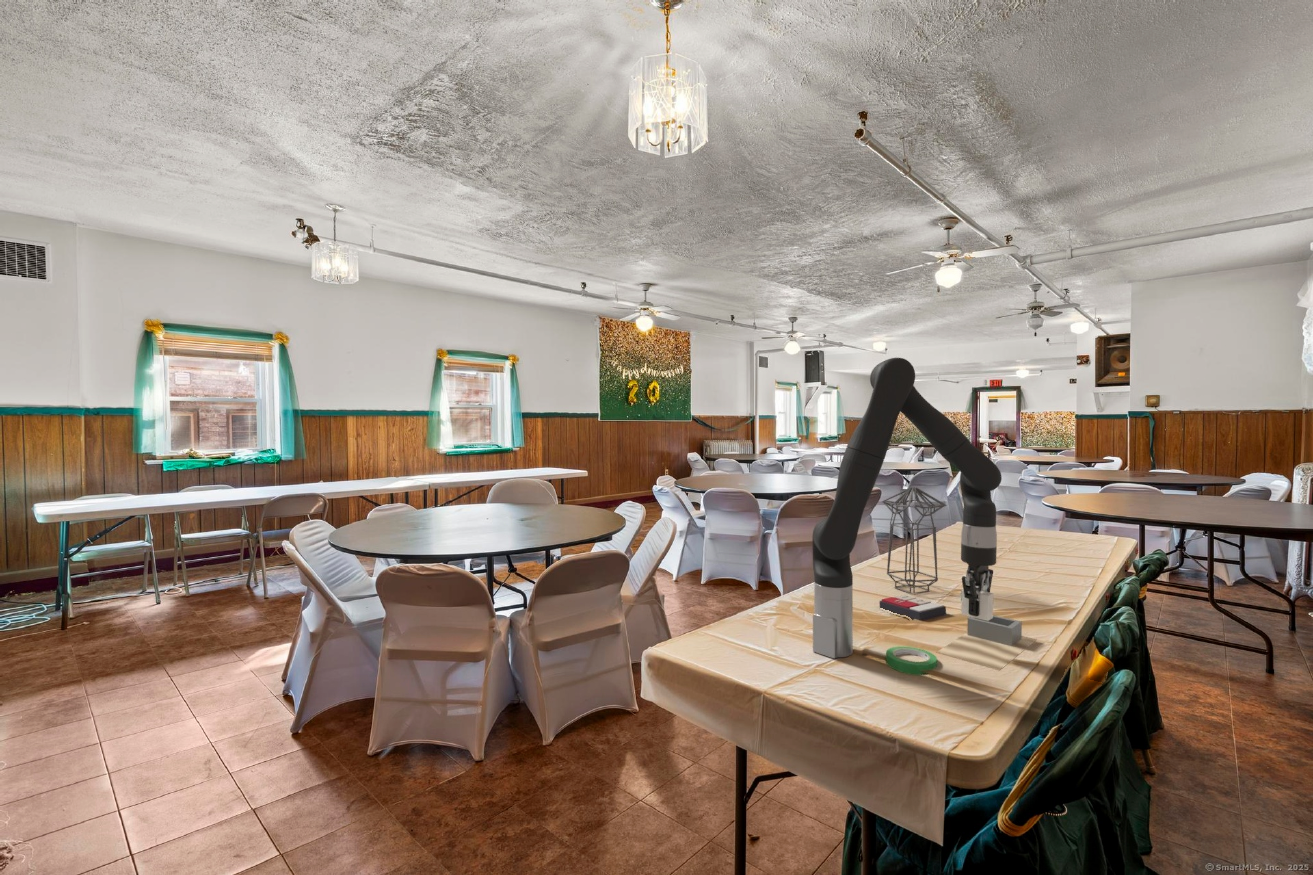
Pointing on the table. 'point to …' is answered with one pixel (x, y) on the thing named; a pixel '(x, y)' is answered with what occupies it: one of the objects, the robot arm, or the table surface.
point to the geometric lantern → (912, 534)
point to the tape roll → (910, 666)
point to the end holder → (996, 630)
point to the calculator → (913, 607)
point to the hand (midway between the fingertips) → (976, 613)
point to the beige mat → (985, 651)
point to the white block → (984, 608)
